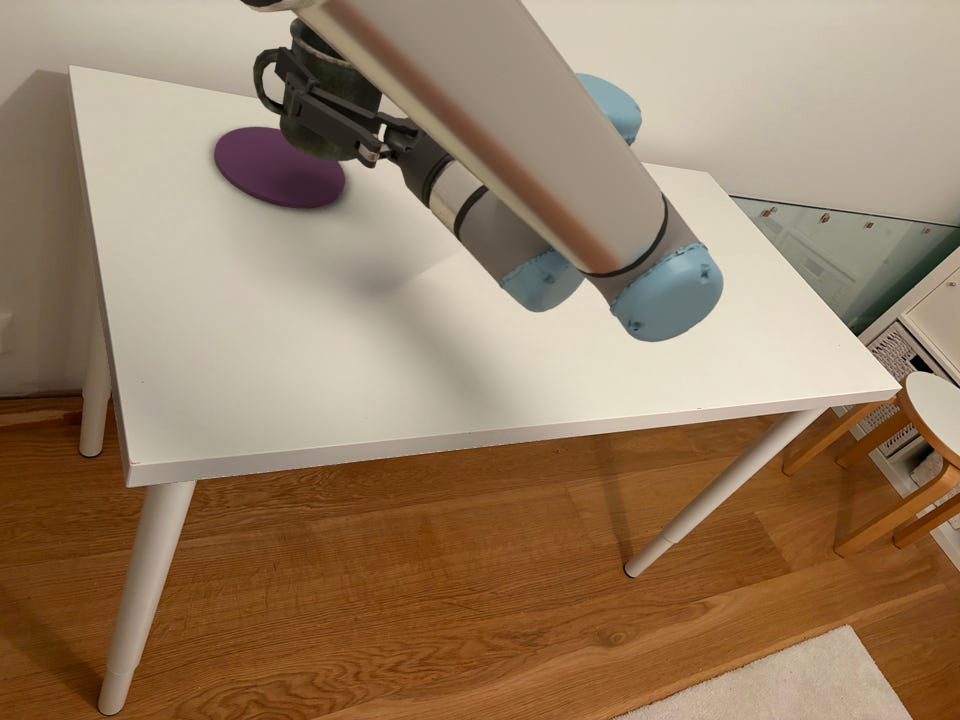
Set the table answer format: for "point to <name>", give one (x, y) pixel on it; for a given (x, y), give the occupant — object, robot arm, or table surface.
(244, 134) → the place mat
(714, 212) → the table surface
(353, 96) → the mug
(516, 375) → the table surface
